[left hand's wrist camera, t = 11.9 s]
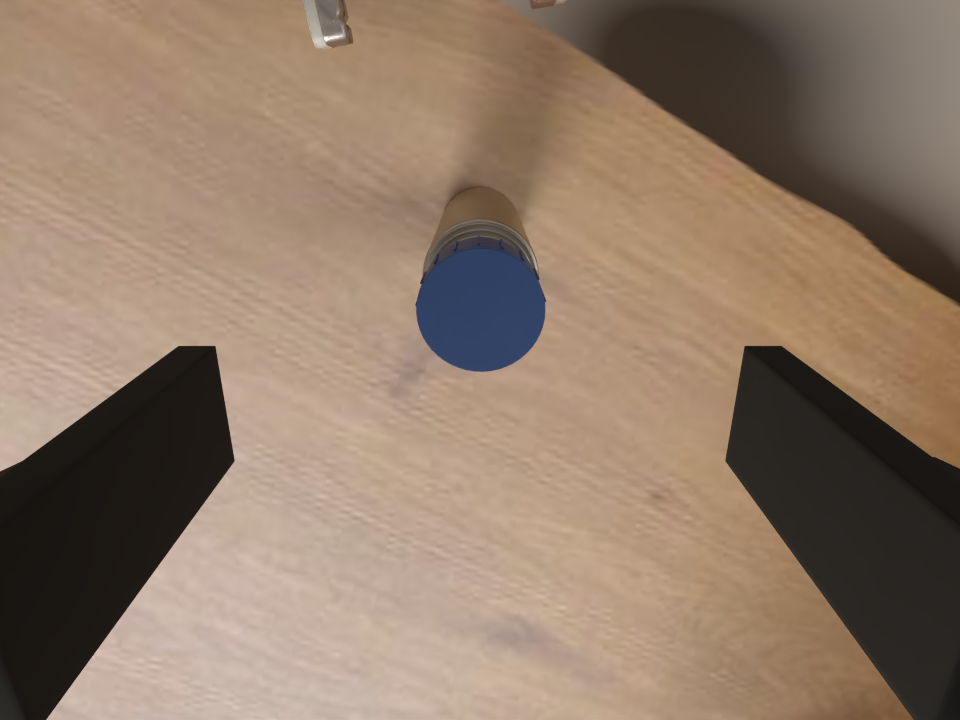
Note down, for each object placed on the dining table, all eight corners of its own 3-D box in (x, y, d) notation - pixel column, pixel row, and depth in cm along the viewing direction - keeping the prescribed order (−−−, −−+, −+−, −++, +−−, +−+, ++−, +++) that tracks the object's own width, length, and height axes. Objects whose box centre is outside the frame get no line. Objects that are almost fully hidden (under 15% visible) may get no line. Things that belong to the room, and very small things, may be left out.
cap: (472, 374, 22) (471, 397, 20) (395, 287, 21) (387, 303, 19) (565, 305, 21) (572, 322, 19) (489, 209, 20) (490, 218, 18)
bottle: (475, 280, 36) (470, 398, 21) (425, 221, 35) (382, 299, 20) (534, 232, 35) (578, 318, 20) (486, 169, 34) (491, 208, 18)
